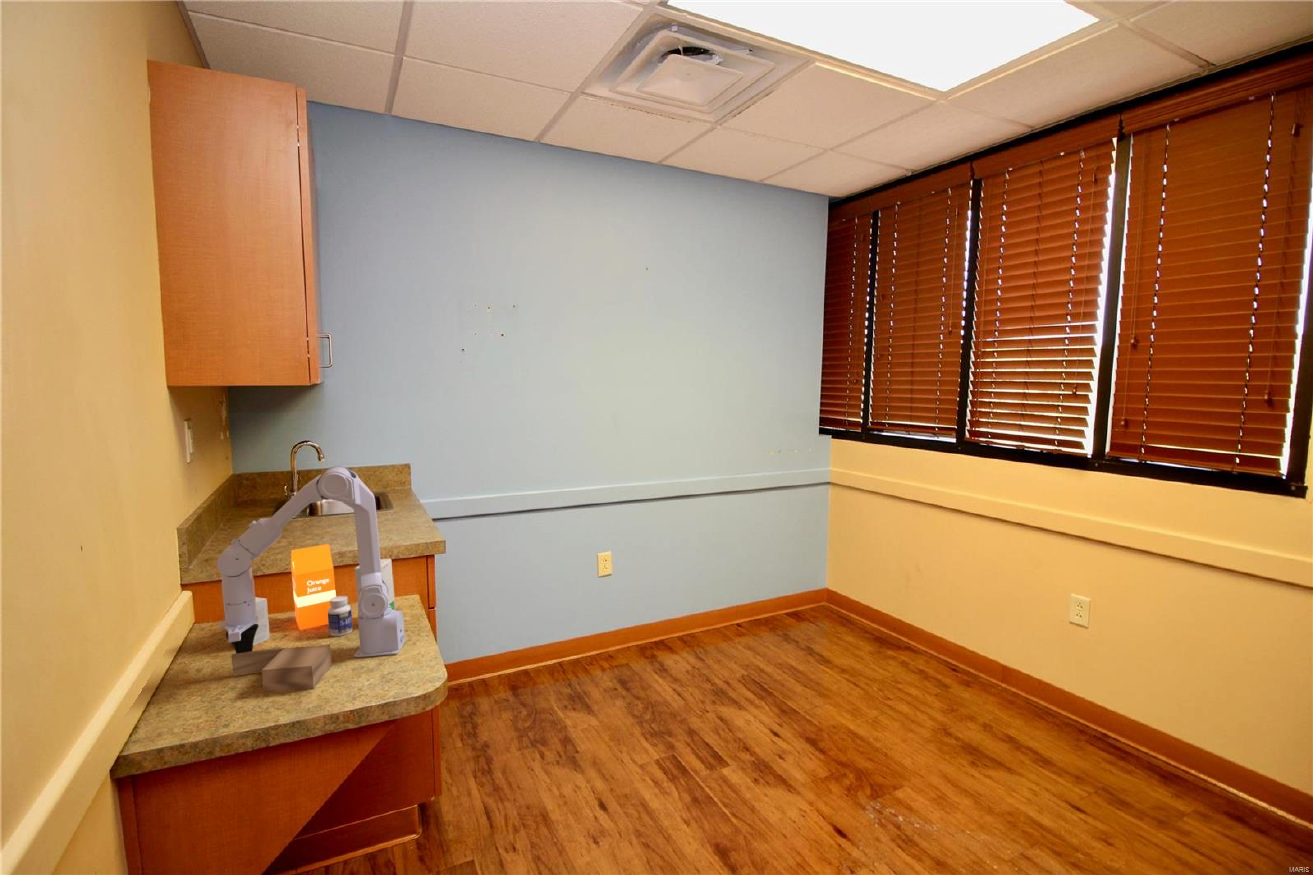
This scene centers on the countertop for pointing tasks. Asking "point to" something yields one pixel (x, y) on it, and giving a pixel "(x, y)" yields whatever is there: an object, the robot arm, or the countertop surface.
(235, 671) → the door
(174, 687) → the countertop surface
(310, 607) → the orange juice
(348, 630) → the pill bottle
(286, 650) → the cabinet
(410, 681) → the countertop surface
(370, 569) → the robot arm
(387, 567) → the skincare box
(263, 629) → the small box
